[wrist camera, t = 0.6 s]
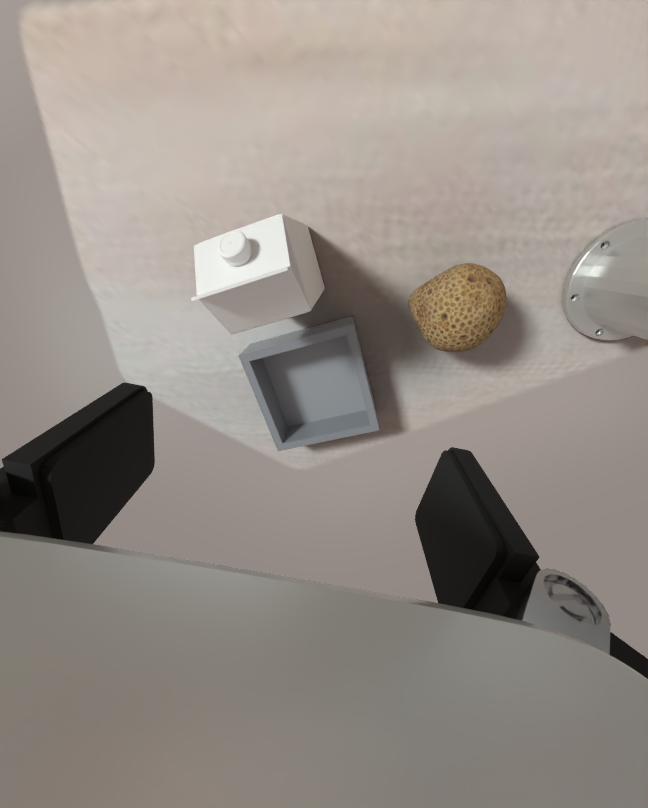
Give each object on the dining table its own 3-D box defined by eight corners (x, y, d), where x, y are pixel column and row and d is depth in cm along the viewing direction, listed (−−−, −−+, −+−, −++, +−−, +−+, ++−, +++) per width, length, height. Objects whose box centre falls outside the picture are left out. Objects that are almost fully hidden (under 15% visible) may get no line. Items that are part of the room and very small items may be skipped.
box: (353, 315, 40) (353, 324, 36) (377, 412, 46) (379, 430, 41) (250, 344, 43) (238, 355, 38) (285, 432, 49) (278, 451, 44)
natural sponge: (491, 323, 39) (532, 345, 30) (420, 350, 42) (438, 379, 33) (474, 247, 36) (514, 248, 27) (397, 282, 38) (410, 293, 29)
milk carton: (325, 288, 39) (304, 322, 22) (271, 305, 41) (212, 348, 24) (307, 224, 36) (268, 206, 19) (250, 244, 38) (165, 244, 21)
